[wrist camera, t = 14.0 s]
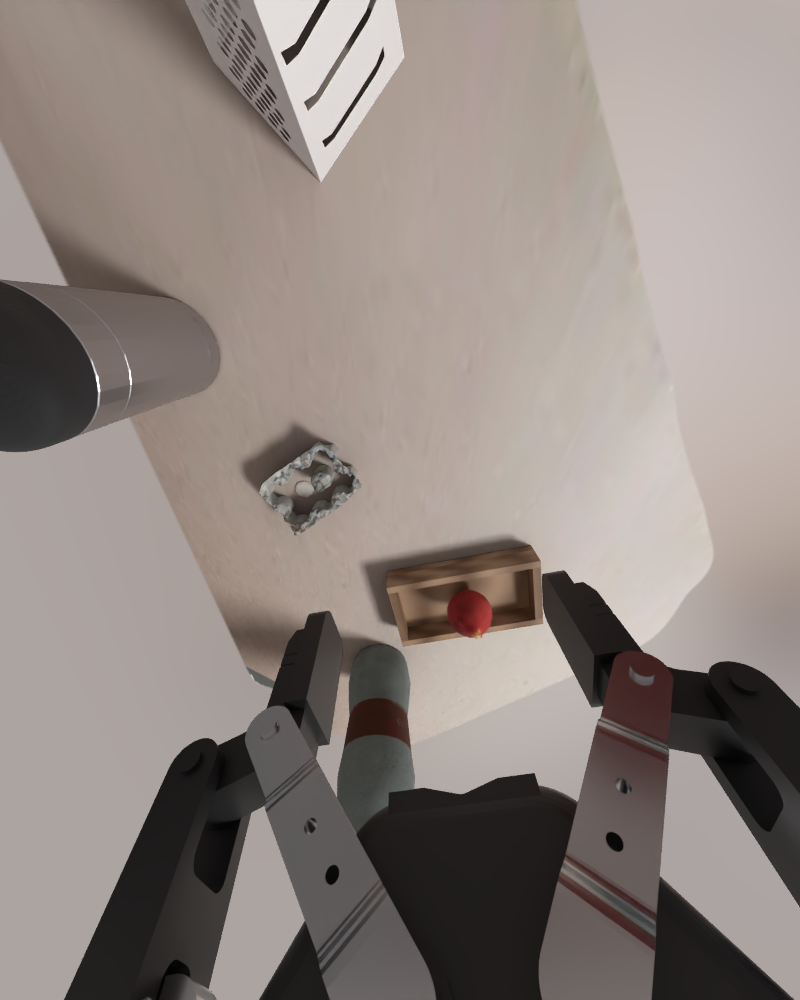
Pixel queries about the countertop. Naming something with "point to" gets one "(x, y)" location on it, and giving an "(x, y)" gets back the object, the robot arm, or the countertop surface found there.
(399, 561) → the countertop surface
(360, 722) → the bottle
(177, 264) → the countertop surface
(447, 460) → the countertop surface
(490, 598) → the wooden tray
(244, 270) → the countertop surface
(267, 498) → the egg carton
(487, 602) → the onion
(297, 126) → the grater
